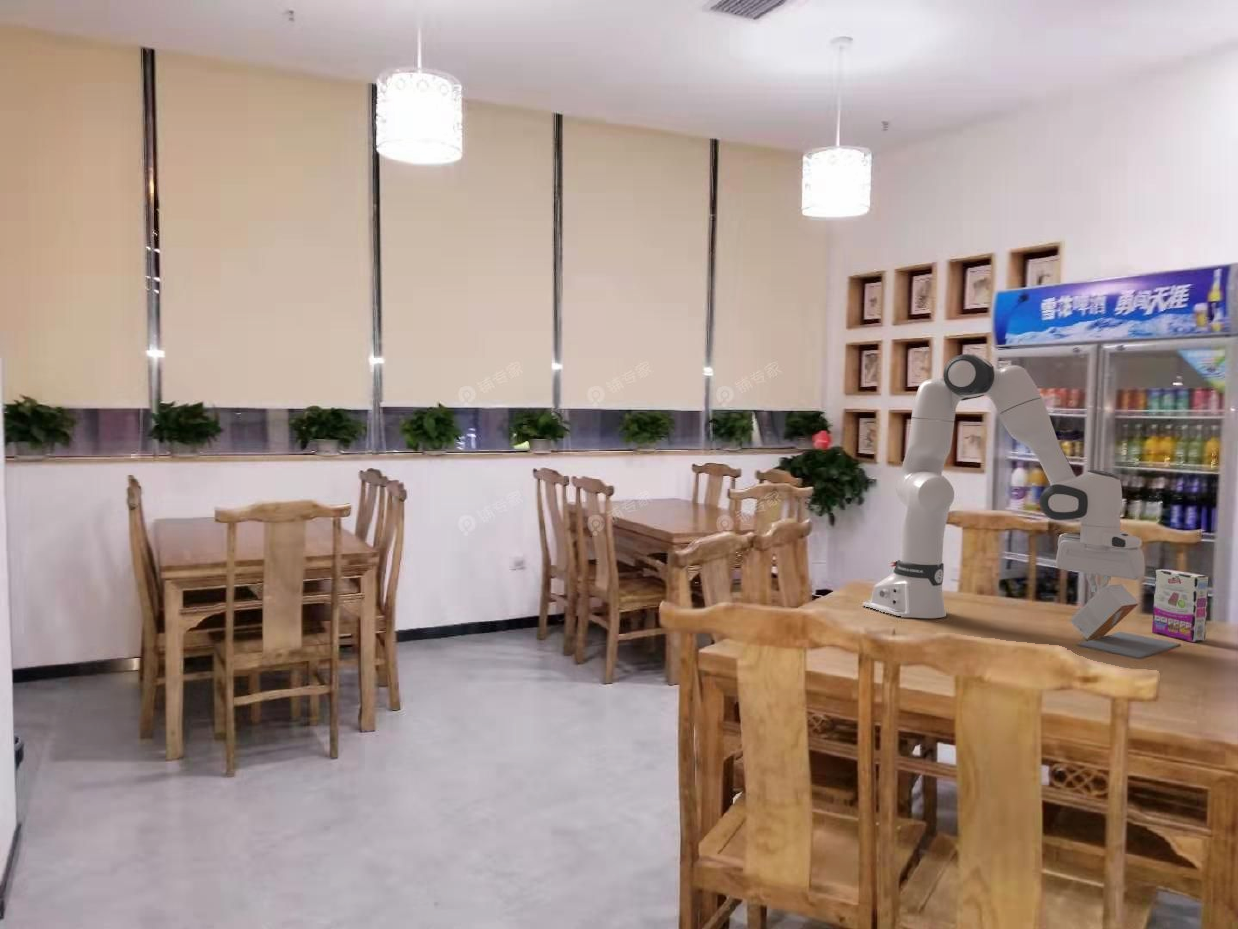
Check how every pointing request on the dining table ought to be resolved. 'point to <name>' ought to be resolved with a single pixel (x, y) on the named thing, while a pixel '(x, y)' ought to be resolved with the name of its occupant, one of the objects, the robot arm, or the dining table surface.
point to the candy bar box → (1180, 605)
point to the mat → (1129, 645)
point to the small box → (1104, 611)
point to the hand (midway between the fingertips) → (1097, 592)
